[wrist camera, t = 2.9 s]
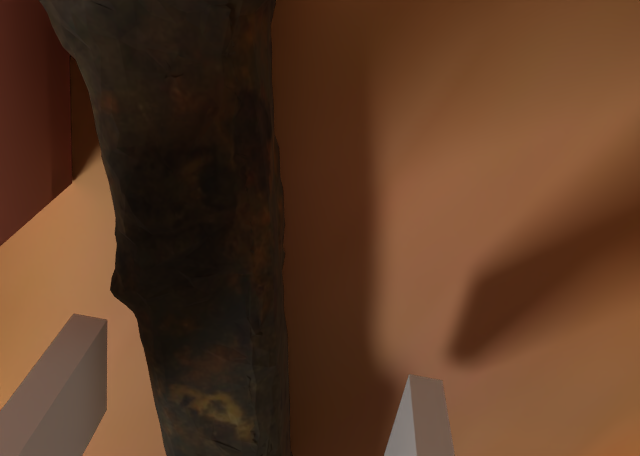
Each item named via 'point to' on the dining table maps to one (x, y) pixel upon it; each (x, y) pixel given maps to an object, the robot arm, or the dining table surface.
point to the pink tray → (31, 114)
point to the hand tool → (194, 208)
